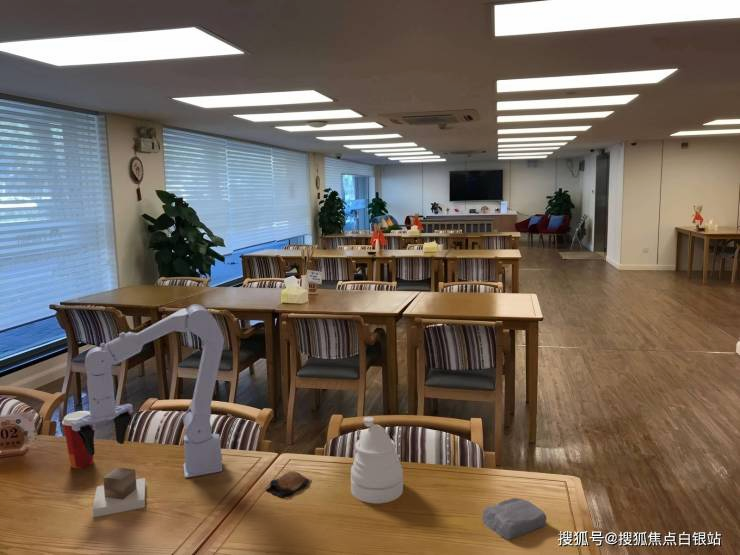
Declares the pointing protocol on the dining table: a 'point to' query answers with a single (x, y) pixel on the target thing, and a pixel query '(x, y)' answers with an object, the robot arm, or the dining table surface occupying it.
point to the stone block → (513, 518)
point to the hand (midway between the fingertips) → (106, 448)
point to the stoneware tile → (119, 500)
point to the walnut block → (119, 483)
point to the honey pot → (376, 467)
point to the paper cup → (76, 442)
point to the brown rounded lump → (288, 484)
